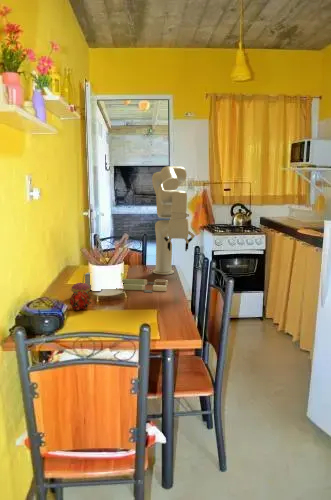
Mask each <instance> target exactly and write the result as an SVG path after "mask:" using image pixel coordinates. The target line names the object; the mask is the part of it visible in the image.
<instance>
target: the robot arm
mask: <svg viewBox="0 0 331 500" xmlns="http://www.w3.org/2000/svg"><path fill="white" fill-rule="evenodd" d="M187 175H188V173H187V171H186V168H185V167H183V166H178V165H177V166H176V165H175V166H174V165H173V166H169V165H167V166H164V167H163V168H161V170H160V171H157V172H154V173H153V174H152V177H151V180H152V187H153V190H154V192H155V197H156V199H155V200H156V214H157V217H158V218H159V219H161V220H157V221H156V222H155V225H154V231H155V269H153V270H152V273H154V274H156V275H165V276H166V275H173V274H174V273H175V271H174V269H172V262H173V242H172V239H177V240H179V239H181V240H184V241H185V247H184V249H185V252H187V251H188V250H189V243H190V242H191V241H192V240H193V239H194V238H195V236H196V235H195V234H194V233H193V232H192V231H190V230H189V219H188V218H189V217H190V214H189V213H188V212H187V211H188V210H187V209H188V208H187V207H188V206H187V203H188V202H187V201H188V193H187V192H186V191H184V190H177V189H178V187H180V186H182V185H183V184H184V183H185V181H186V179H187V177H188V176H187ZM189 236H190V238H189Z"/></svg>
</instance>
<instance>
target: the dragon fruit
mask: <svg viewBox="0 0 331 500" xmlns="http://www.w3.org/2000/svg"><path fill="white" fill-rule="evenodd" d="M91 298H92V297H91V295H90V294H89V292H88V293H87V292H86V291H83V292H81V291H78V293H74V292H73V293H72V294H71V296H70V297H69V305H70V307H72V309H73V311H75V312H77V311H80V310H83V311H84V310H87V309H88V306H90V305H91V304H92V301H90V300H91Z"/></svg>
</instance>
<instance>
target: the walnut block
mask: <svg viewBox="0 0 331 500" xmlns="http://www.w3.org/2000/svg"><path fill="white" fill-rule="evenodd" d="M155 280H156V281H155ZM155 280H154V282H155V285H162V286H166V279H162V278H161V279H159V278H156V279H155Z"/></svg>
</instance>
